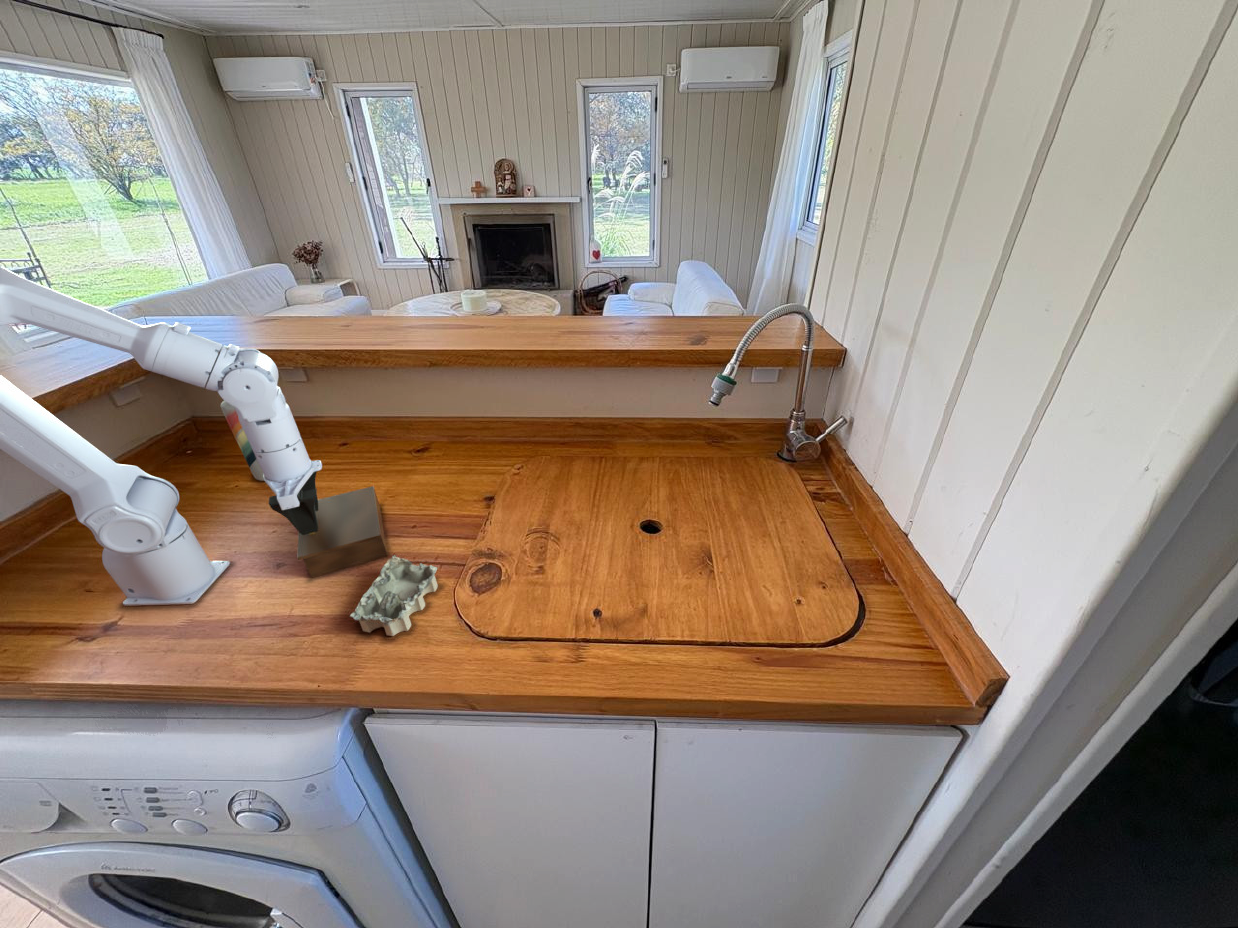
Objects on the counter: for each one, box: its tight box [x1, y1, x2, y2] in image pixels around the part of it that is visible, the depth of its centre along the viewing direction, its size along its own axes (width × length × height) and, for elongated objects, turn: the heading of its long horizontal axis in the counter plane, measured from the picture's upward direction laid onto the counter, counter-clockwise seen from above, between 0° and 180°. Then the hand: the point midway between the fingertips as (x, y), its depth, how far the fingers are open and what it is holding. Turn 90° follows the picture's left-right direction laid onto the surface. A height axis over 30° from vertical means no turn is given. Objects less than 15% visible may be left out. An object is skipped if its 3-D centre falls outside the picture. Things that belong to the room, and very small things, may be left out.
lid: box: [296, 485, 381, 562], centre depth 75 cm, size 11×14×4 cm
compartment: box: [302, 488, 389, 579], centre depth 77 cm, size 10×14×4 cm
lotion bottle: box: [220, 400, 265, 482], centre depth 89 cm, size 6×6×20 cm
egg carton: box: [349, 554, 439, 637], centre depth 66 cm, size 11×8×4 cm
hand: (310, 521), depth 74 cm, fingers closed on lid, 5 cm apart
